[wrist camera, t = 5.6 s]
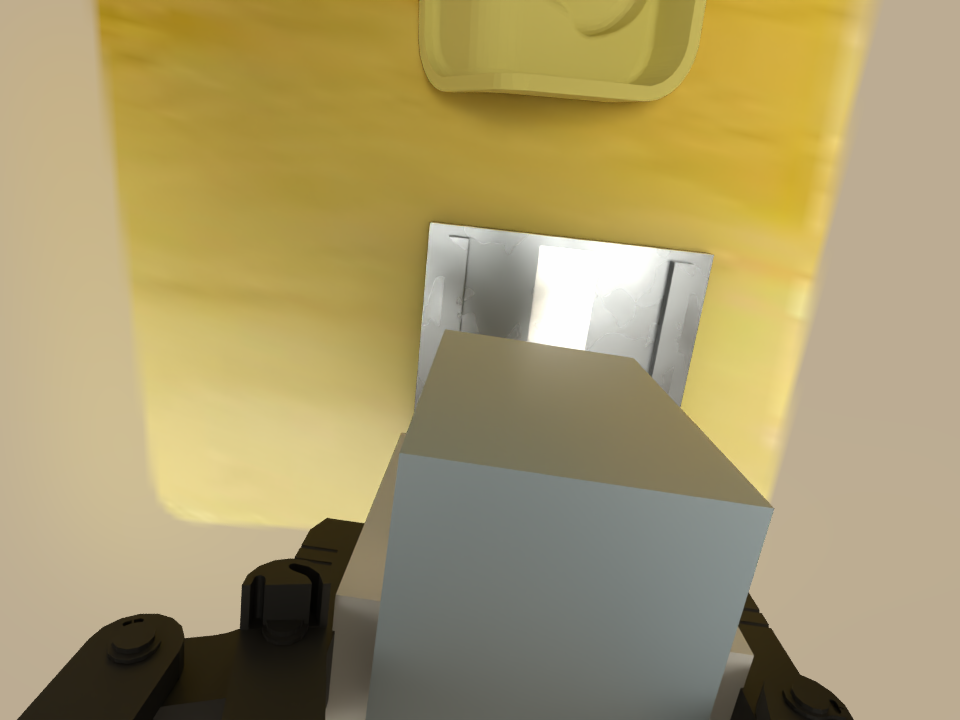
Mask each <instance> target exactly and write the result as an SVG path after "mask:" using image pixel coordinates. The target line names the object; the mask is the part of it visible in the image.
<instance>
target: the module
mask: <svg viewBox="0 0 960 720" xmlns="http://www.w3.org/2000/svg"><path fill="white" fill-rule="evenodd" d="M773 511H774V508H773V507H772V506H771V504H770V503H769V502H768V501H767V500H766V499H765V498H764V497H763V496H762V495H761V494H760V493H759V492H758V491H757V489H756V488H755V487H754V486H753V485H752V484H751V483H750V482H749V481H748V480H747V479H746V478H745V477H744V476H743V475H742V473H741V472H740V471H739V470H738V469H737V468H736V467H735V466H734V465H733V464H732V463H731V462H730V461H729V460H728V458H727V457H726V456H725V455H724V454H723V453H722V452H721V451H720V450H719V449H718V448H717V447H716V446H715V445H714V443H713V442H712V441H711V440H710V439H709V438H708V437H707V436H706V435H705V434H704V433H703V432H702V431H701V430H700V428H699V427H698V426H697V425H696V424H695V423H694V422H693V421H692V420H691V419H690V418H689V417H688V416H687V415H686V414H685V412H684V411H683V410H682V409H681V408H680V407H679V406H678V405H677V404H676V403H675V402H674V401H673V400H672V399H671V397H670V396H669V395H668V394H667V393H666V392H665V391H664V390H663V389H662V388H661V387H660V386H659V385H658V384H657V382H656V381H655V380H654V379H653V378H652V377H651V376H650V375H649V374H648V373H647V372H646V371H645V370H644V369H643V368H642V366H641V365H640V364H639V363H638V362H637V361H636V360H635V359H634V358H631V357H624V356H618V355H611V354H605V353H598V352H592V351H585V350H579V349H572V348H565V347H559V346H552V345H546V344H539V343H533V342H526V341H520V340H513V339H507V338H500V337H494V336H487V335H481V334H474V333H468V332H461V331H454V330H448V329H445V330H444V333H443V336H442V339H441V341H440V344H439V347H438V349H437V352H436V355H435V358H434V360H433V363H432V366H431V368H430V371H429V374H428V377H427V379H426V382H425V385H424V387H423V390H422V393H421V396H420V398H419V401H418V404H417V406H416V409H415V412H414V415H413V417H412V420H411V423H410V425H409V428H408V431H407V434H406V436H405V439H404V442H403V444H402V447H401V450H400V453H399V460H398V468H397V476H396V483H395V491H394V499H393V507H392V515H391V523H390V530H389V538H388V546H387V554H386V562H385V570H384V578H383V585H382V593H381V601H380V609H379V617H378V625H377V632H376V640H375V648H374V656H373V664H372V672H371V679H370V687H369V695H368V703H367V711H366V719H365V720H709V718H710V715H711V712H712V709H713V705H714V702H715V699H716V696H717V692H718V689H719V686H720V683H721V679H722V676H723V673H724V670H725V666H726V663H727V660H728V657H729V653H730V650H731V647H732V644H733V641H734V637H735V634H736V631H737V628H738V624H739V621H740V618H741V615H742V611H743V608H744V605H745V602H746V598H747V595H748V592H749V589H750V585H751V582H752V579H753V576H754V572H755V569H756V566H757V563H758V560H759V556H760V553H761V549H762V547H763V543H764V540H765V537H766V534H767V530H768V527H769V524H770V521H771V517H772V514H773Z"/></svg>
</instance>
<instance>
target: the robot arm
mask: <svg viewBox="0 0 960 720" xmlns="http://www.w3.org/2000/svg"><path fill="white" fill-rule="evenodd" d="M406 434H407V433H401V435H400V438H399V440H398V443H397V445H396V448H395V450H394V452H393V455H392V457H391V460H390V462H389V465H388V467H387V470H386V472H385V475H384V477H383V480H382V482H381V484H380V487H379V489H378V492H377V494H376V497H375V499H374V502H373V504H372V507H371V509H370V512H369V514H368V516H367V519H366V521H365V524H364V523H358V522H351V521H344V520H337V519H330V518H326V519H325V520H324V521H322V522H321V523H319V524H318V525H316V526H315V527H313V528H312V529H311V530H310V531H309V533H308V535H307V537H306V538H305V540H304V542H303V543H302V546H301V548H300V549H299V551H298V553H297V554H296V556H295V559H283V560H275V561H272V562H269V563H266V564H264V565H261V566H259V567H257V568H256V569H255V570H253V571H252V572H251V573H250V574H248V575H247V577H246V579H245V581H244V583H243V584H242V597H241V618H240V629H238V630H235V631H232V632H229V633H225V634H219V635H213V636H203V637H194V638H184V633H183V629H182V626H181V625H180V624H179V623H178V622H177V621H175V620H174V619H173V618H171V617H167V616H164V615H160V614H138V615H134V616H130V617H125V618H121V619H119V620H117V621H115V622H113V623H111V624H109V625H106V626H104V627H103V628H101V629H100V630H99V631H98V632H97V633H95V634H94V635H93V636H92V637H91V638H89V640H88V641H87V642H86V643H85V644H84V645H83V646H82V647H81V648H80V650H79V651H78V652H77V653H76V654H75V655H74V656H73V657H72V658H71V660H70V661H69V662H68V663H67V664H66V665H65V666H64V667H63V669H62V670H61V671H60V672H59V673H58V674H57V675H56V677H55V678H54V679H53V680H52V681H51V682H50V683H49V684H48V685H47V687H46V688H45V689H44V690H43V691H42V692H41V693H40V695H39V696H38V697H37V698H36V699H35V700H34V701H33V702H32V703H31V705H30V706H29V707H28V708H27V709H26V710H25V711H24V712H23V714H22V715H21V716H20V717H19V718H18V719H17V720H365V719H366V711H367V703H368V695H369V687H370V679H371V672H372V664H373V656H374V648H375V640H376V632H377V625H378V617H379V609H380V601H381V593H382V585H383V578H384V570H385V562H386V554H387V546H388V538H389V530H390V523H391V515H392V507H393V499H394V491H395V483H396V476H397V468H398V460H399V453H400V450H401V447H402V444H403V442H404V439H405V436H406ZM768 625H769V624H768V623H767V621H766V619H765V618H764V616H763V615H762V613H759V608H758V607H757V605H756V604H755V602H754V600H753V599H752V597H751V596H750V594H749V592H748V595H747V598H746V602H745V605H744V608H743V611H742V615H741V618H740V621H739V624H738V628H737V631H736V634H735V637H734V641H733V644H732V647H731V650H730V653H729V657H728V660H727V663H726V666H725V670H724V673H723V676H722V679H721V683H720V686H719V689H718V692H717V696H716V699H715V702H714V705H713V709H712V712H711V715H710V718H709V720H853V718H852V716H851V714H850V713H849V711H848V709H847V708H846V706H845V705H844V704H843V703H842V702H841V701H840V700H839V699H838V698H837V697H836V696H835V695H834V694H833V693H832V692H831V691H829V690H828V689H826V688H825V687H823V686H822V685H820V684H819V683H817V682H816V681H813V680H811V679H809V678H806V677H804V676H802V675H800V674H799V672H798V670H797V669H796V667H795V666H794V664H793V663H792V661H791V659H790V658H789V656H788V655H787V653H786V651H785V650H784V648H783V647H782V645H781V643H780V642H779V640H778V639H777V637H776V636H775V634H774V632H773V631H772V629H771V628H769V626H768Z"/></svg>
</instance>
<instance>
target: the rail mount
mask: <svg viewBox="0 0 960 720" xmlns="http://www.w3.org/2000/svg"><path fill="white" fill-rule="evenodd" d="M713 257H714V255H712V254H709V253H703V252H694V251H685V250H676V249H668V248H659V247H650V246H641V245H633V244H624V243H615V242H606V241H598V240H589V239H580V238H571V237H562V236H554V235H545V234H536V233H527V232H519V231H510V230H501V229H492V228H484V227H475V226H466V225H457V224H449V223H440V222H430V229H429V241H428V253H427V265H426V277H425V289H424V301H423V313H422V325H421V337H420V349H419V361H418V373H417V385H416V397H415V409H416V406H417V404H418V401H419V398H420V396H421V393H422V390H423V387H424V385H425V382H426V379H427V377H428V374H429V371H430V368H431V366H432V363H433V360H434V358H435V355H436V352H437V349H438V347H439V344H440V341H441V339H442V336H443V333H444V330H445V329H448V330H454V331H461V332H468V333H474V334H481V335H487V336H494V337H500V338H507V339H513V340H520V341H526V342H533V343H539V344H546V345H552V346H559V347H565V348H572V349H579V350H585V351H592V352H598V353H605V354H611V355H618V356H624V357H631V358H634V359H635V360H636V361H637V362H638V363H639V364H640V365H641V366H642V368H643V369H644V370H645V371H646V372H647V373H648V374H649V375H650V376H651V377H652V378H653V379H654V380H655V381H656V382H657V384H658V385H659V386H660V387H661V388H662V389H663V390H664V391H665V392H666V393H667V394H668V395H669V396H670V397H671V399H672V400H673V401H674V402H675V403H676V404H677V405H678V406H679V407H680V406H681V402H682V397H683V393H684V388H685V384H686V379H687V375H688V370H689V366H690V361H691V357H692V352H693V348H694V343H695V339H696V334H697V330H698V325H699V320H700V316H701V311H702V307H703V302H704V298H705V293H706V289H707V284H708V280H709V275H710V271H711V266H712V262H713ZM415 409H414V412H415Z"/></svg>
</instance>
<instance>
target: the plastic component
mask: <svg viewBox="0 0 960 720" xmlns="http://www.w3.org/2000/svg"><path fill="white" fill-rule="evenodd" d="M705 6H706V0H419V49H420V57H421V61H422V64H423V68H424V71H425V73H426V75H427V78H428V80H429V81H430V82H431V84H432V85H433V86H434V87H435V88H436V89H438V90H440V91H444V92H491V93H507V94H521V95H532V96H543V97H555V98H566V99H577V100H588V101H600V102H643V101H652V100H657V99H660V98H662V97H664V96H666V95H668V94H670V93H671V92H672V91H673V90H674V89H675V88H677V87H678V86H679V85H680V84H681V83H682V81H683V80H684V78H685V77H686V76H687V74H688V73H689V71H690V69H691V67H692V65H693V63H694V60H695V57H696V54H697V51H698V48H699V42H700V36H701V30H702V24H703V18H704V12H705Z"/></svg>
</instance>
